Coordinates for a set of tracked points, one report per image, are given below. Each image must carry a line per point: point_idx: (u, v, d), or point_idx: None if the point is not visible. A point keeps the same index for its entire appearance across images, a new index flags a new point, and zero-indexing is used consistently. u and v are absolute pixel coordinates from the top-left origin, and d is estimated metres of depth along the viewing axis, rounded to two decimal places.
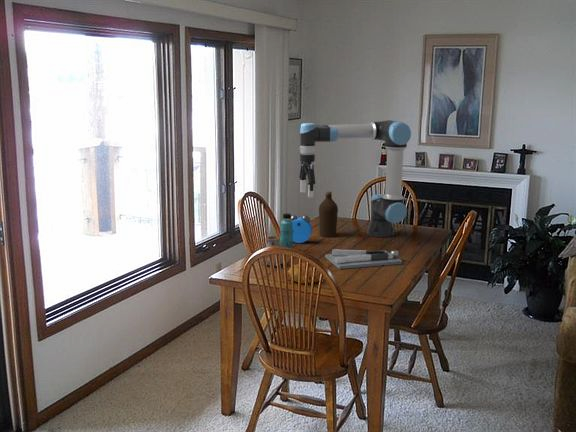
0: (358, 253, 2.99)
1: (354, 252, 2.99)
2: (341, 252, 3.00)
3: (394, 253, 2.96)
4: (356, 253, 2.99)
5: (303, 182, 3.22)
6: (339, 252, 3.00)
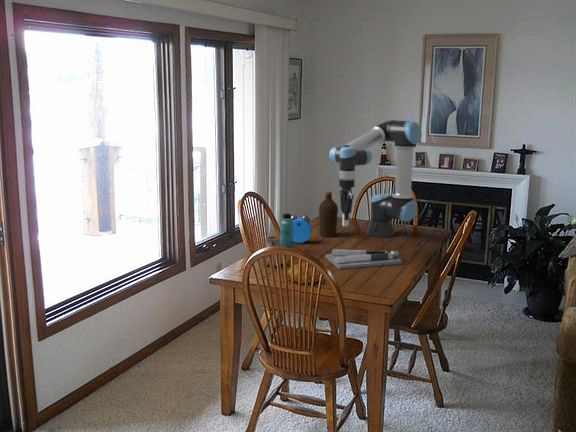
0: (358, 253, 2.99)
1: (354, 252, 2.99)
2: (341, 252, 3.00)
3: (394, 253, 2.96)
4: (356, 253, 2.99)
5: None
6: (339, 252, 3.00)
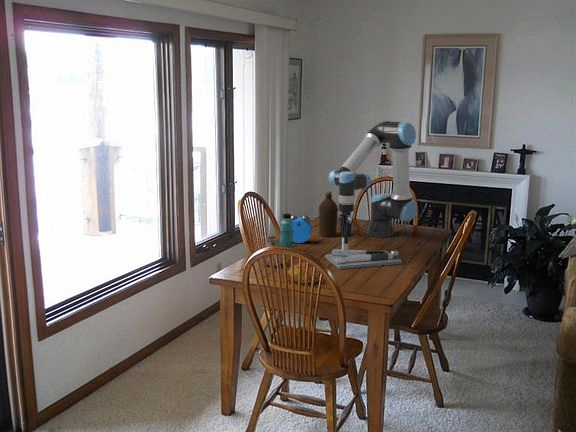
0: (358, 253, 2.99)
1: (354, 252, 2.99)
2: (341, 252, 3.00)
3: (394, 253, 2.96)
4: (356, 253, 2.99)
5: None
6: (339, 252, 3.00)
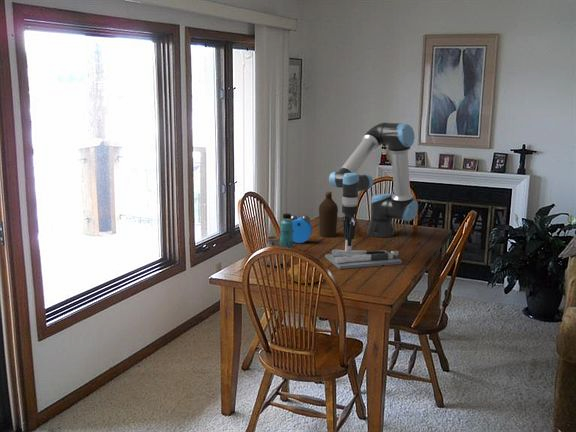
0: (358, 253, 2.99)
1: (354, 252, 2.99)
2: (341, 252, 2.99)
3: (394, 253, 2.96)
4: (356, 253, 2.99)
5: None
6: (339, 252, 2.99)
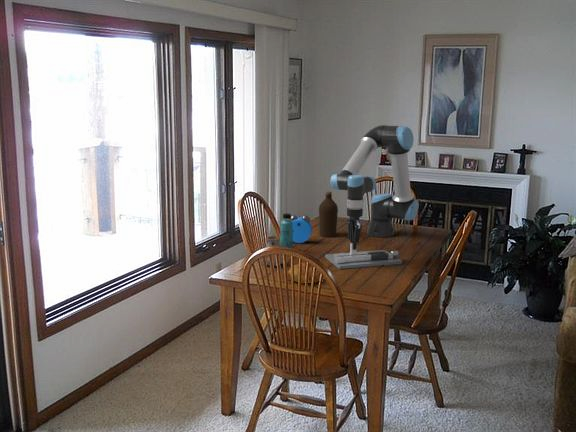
0: None
1: None
2: None
3: (394, 253, 2.96)
4: None
5: None
6: None
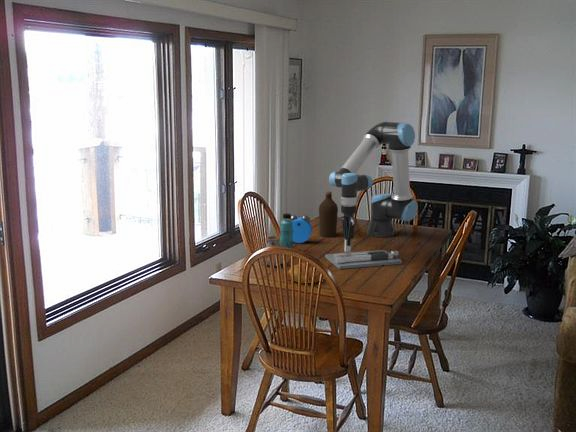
0: None
1: None
2: None
3: (394, 253, 2.96)
4: None
5: None
6: None
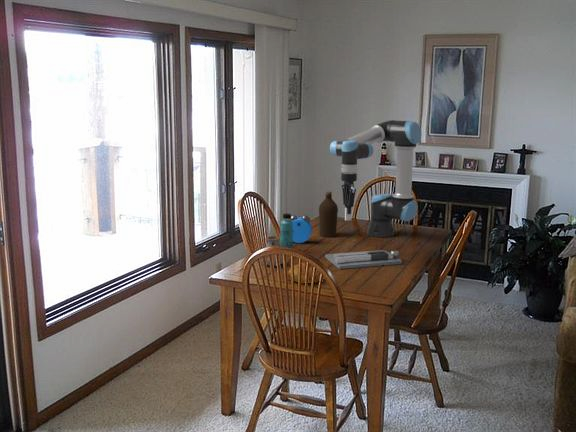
0: None
1: None
2: None
3: (394, 253, 2.96)
4: None
5: None
6: None
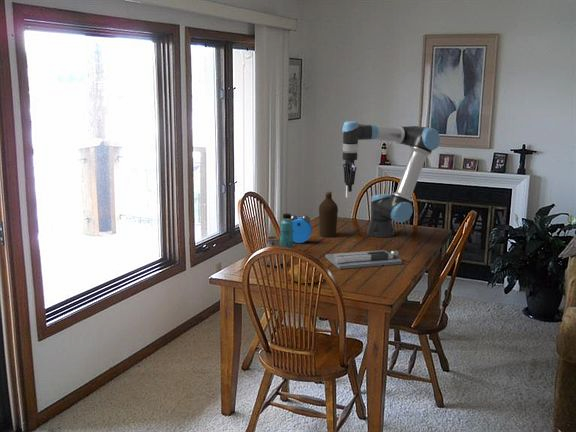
0: None
1: None
2: None
3: (394, 253, 2.96)
4: None
5: None
6: None
